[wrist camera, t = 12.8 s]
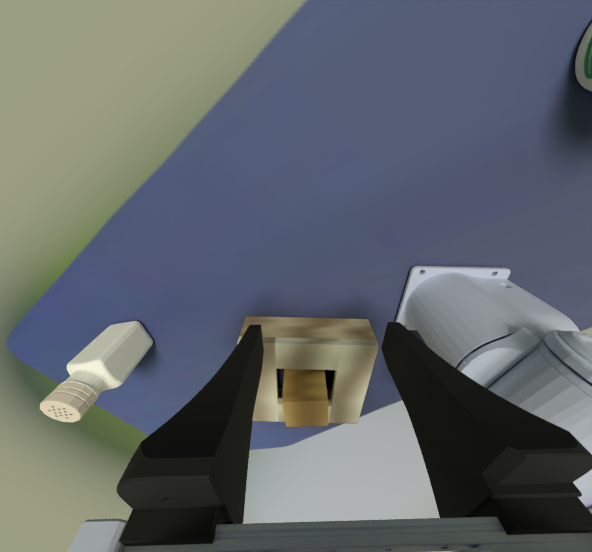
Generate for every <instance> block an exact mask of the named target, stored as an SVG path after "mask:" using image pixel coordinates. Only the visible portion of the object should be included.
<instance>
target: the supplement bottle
mask: <svg viewBox="0 0 592 552" xmlns="http://www.w3.org/2000/svg"><path fill="white" fill-rule="evenodd" d="M575 73H576V77H577V80H578V82H579V83H580V85H581V86H582V87H584V88H585V89H587V90H589V91H592V23H591V25H590V26H589V28H588V29H587V31H586V33H585V35H584V37H583V39H582V41H581V43H580V46H579V49H578V52H577V56H576V61H575Z"/></svg>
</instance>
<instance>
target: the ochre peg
mask: <svg viewBox="0 0 592 552" xmlns="http://www.w3.org/2000/svg"><path fill="white" fill-rule="evenodd" d="M282 405H283V411H284V416H285V422H286V427H299V426H328V396H327V387H326V378H325V370H311V369H284V380H283V394H282Z"/></svg>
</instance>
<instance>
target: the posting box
mask: <svg viewBox="0 0 592 552" xmlns="http://www.w3.org/2000/svg"><path fill="white" fill-rule="evenodd" d="M258 324H261V329H262V338H263V347H264V354H263V365H262V372H261V377H260V382H259V387H258V392H257V397H256V402H255V407H254V413H253V420H252V421H278V422H285V416H284V411H283V405H282V394H283V388H278V379H277V369H311V370H335V373H334V379H333V386H332V389H327V396H328V423H350V424H357V423H358V420H359V417H360V413H361V409H362V406H363V402H364V398H365V395H366V391H367V387H368V384H369V380H370V377H371V373H372V369H373V366H374V362H375V358H376V355H377V351H378V347H379V345H378V342H377V340H376V337H375V335H374V332H373V330H372V327H371V325H370V323H369V320H368V319H341V318H299V317H256V316H246V318H245V321H244V324H243V327H242V330H241V333H240V336H239V339H238V342H237V344H238V343H239V341H240V340H241V338H242V337H243V335H244V333H245V332H246V330H247V328H248V326H249V325H258Z"/></svg>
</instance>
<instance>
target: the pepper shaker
mask: <svg viewBox="0 0 592 552" xmlns="http://www.w3.org/2000/svg"><path fill="white" fill-rule="evenodd" d="M152 344H153V340H152V338H151V337H150V336H149V334H148V333H147V331H146V330H145V329H144V327H143V326H142V324H141V323H140V322H138V321H130V322H123V323H117V324H113V325H110V326H109V327H108V328H107V329H105V330H104V331H103V332H102V333H101V334H100V335H99V336H98V337H97V338H95V339H94V340H93V341H92V342H91V343H90V344H89V345H88V346H87V347H86V348H84V349H83V350H82V351H81V352H80V353H79V354H78V355H77V356H76V357H75V358H73V359H72V360H71V361H70V362H69V363H68V364H67V371H68V372H69V374H70V377H69V378H68V379H67V380H66V381H64V382H62V383H61V384H60V385H59V386H58V387H57V388H56V389H55V390H54V391H53V392H52V393H51V394H50V395H48V396H47V397H46V398H45V399H44V400H43V401H42V402H41V404H40V409H41V410H42V411H43V413H44V414H46V415H47V416H49V417H51V418H53V419H56V420H59V421H63V422H75V421H78V420H80V419H81V418H82V417H83V416H84V414H85V413H86V412H87V410H89V408H90V407H91V406H92V405H93V404H94V402H95V401H96V400H97V398H98V396H99V395H100V393H101V392H102V391H103V390H108V389H113V388H116V387H118V386H120V385H121V384H122V383H123V382H124V381H125V380H126V378H127V377H128V376H129V374H130V373H131V372H132V371H133V369H134V368H135V367H136V365H137V364H138V363H139V362H140V360H141V359H142V358H143V356H144V355H145V354H146V352H147V351H148V350H149V349H150V347H151V346H152Z"/></svg>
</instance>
